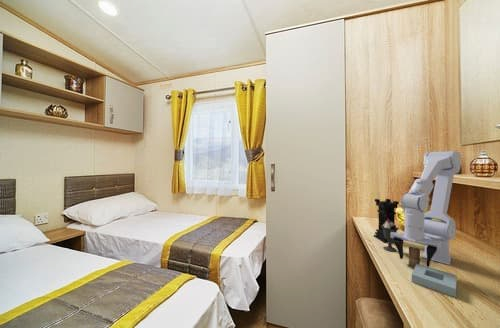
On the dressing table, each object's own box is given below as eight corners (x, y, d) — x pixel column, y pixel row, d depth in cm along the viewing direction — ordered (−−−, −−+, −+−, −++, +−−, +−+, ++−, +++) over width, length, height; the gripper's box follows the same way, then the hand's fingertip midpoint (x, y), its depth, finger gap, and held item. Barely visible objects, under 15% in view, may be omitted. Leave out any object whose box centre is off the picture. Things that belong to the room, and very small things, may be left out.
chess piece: (400, 242, 94) (400, 201, 94) (383, 242, 94) (383, 202, 94) (388, 236, 102) (388, 198, 102) (373, 236, 102) (373, 198, 102)
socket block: (416, 270, 71) (416, 263, 71) (456, 282, 63) (456, 275, 63) (411, 281, 64) (411, 274, 64) (455, 297, 56) (455, 289, 56)
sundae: (381, 244, 92) (381, 213, 92) (399, 248, 88) (399, 215, 88) (380, 249, 87) (379, 216, 87) (398, 254, 83) (398, 219, 83)
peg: (409, 263, 75) (409, 245, 75) (420, 266, 73) (420, 248, 73) (408, 266, 73) (408, 248, 73) (419, 270, 71) (419, 251, 71)
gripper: (388, 223, 75) (388, 258, 76) (440, 233, 65) (440, 273, 65) (392, 220, 80) (393, 252, 80) (441, 228, 69) (441, 266, 70)
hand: (414, 261), depth 73 cm, fingers open, 7 cm apart
